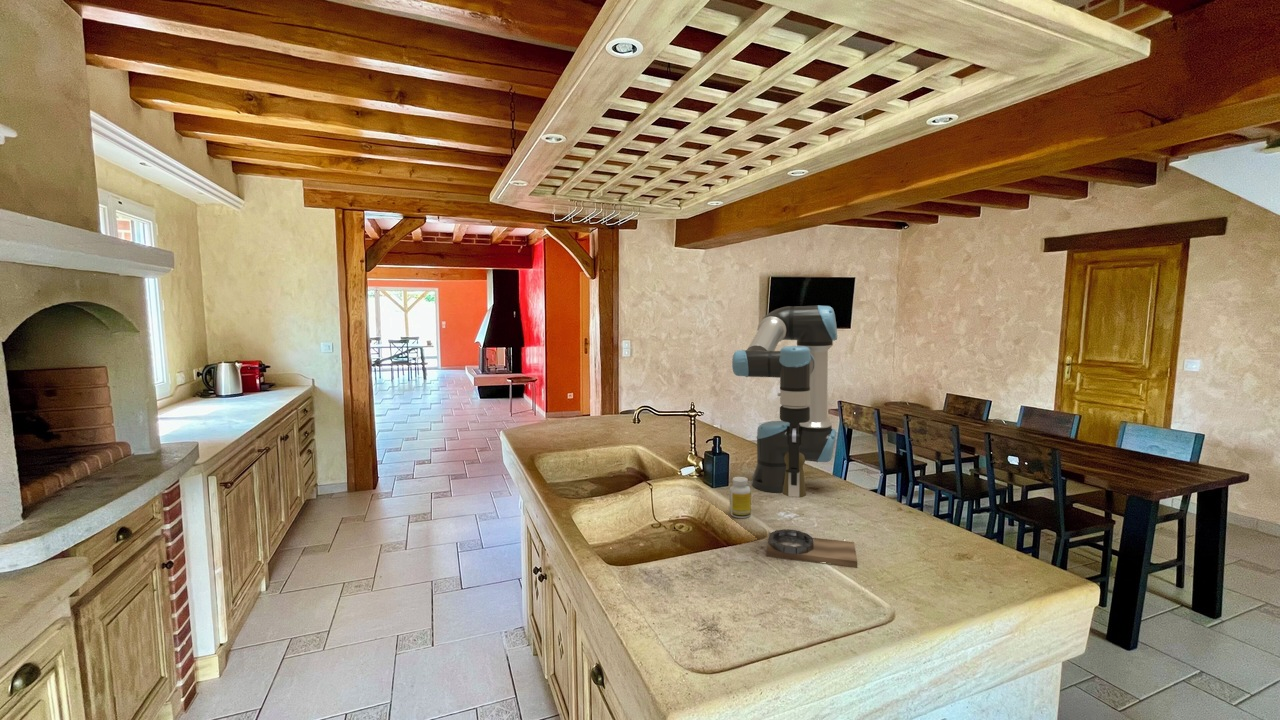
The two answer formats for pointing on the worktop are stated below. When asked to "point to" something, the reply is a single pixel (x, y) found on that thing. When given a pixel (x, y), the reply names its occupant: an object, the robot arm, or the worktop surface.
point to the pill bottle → (740, 498)
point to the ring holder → (791, 541)
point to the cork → (801, 477)
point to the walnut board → (823, 553)
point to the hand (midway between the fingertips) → (794, 491)
